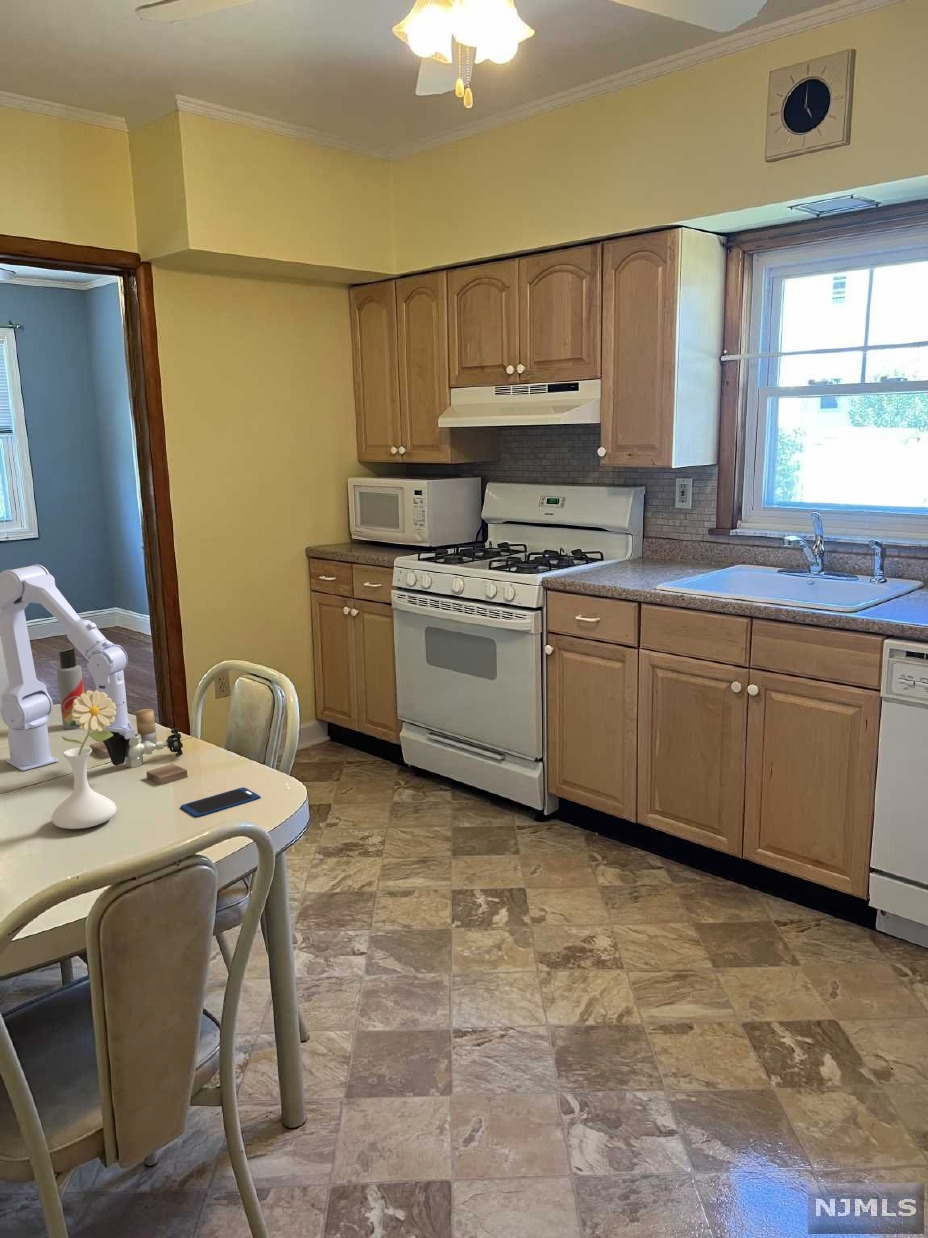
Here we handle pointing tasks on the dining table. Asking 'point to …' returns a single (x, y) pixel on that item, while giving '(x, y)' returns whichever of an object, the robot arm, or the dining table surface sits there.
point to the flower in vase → (84, 802)
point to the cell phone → (219, 802)
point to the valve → (151, 748)
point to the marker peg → (146, 725)
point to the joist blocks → (156, 775)
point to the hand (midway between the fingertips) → (118, 763)
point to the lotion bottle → (69, 685)
